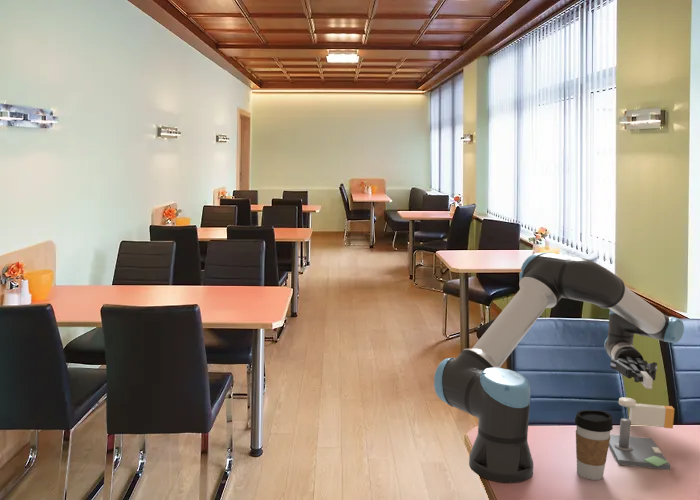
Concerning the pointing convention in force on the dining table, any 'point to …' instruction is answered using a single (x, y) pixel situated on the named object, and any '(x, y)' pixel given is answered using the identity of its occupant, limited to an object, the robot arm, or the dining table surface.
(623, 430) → the orange tipped swivel lever
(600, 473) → the coffee cup
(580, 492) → the dining table surface
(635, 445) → the tuner board
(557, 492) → the dining table surface
